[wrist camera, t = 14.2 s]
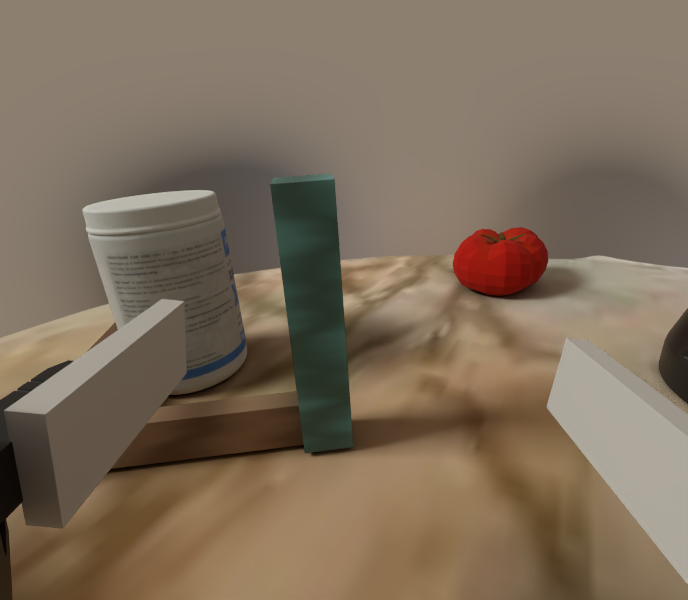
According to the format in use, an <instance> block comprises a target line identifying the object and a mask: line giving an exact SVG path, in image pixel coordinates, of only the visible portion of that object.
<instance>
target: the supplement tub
mask: <svg viewBox="0 0 688 600" xmlns="http://www.w3.org/2000/svg"><path fill="white" fill-rule="evenodd" d="M220 213H221V210H220V208H219V207H218V202H217V198H216V194H215V193H214V192H212V191H207V190H189V191H176V192H163V193H154V194H146V195H139V196H131V197H125V198H119V199H113V200H108V201H103V202H99V203H95V204H92V205H88V206H86V207H85V208H84V209H83V214H84V218H85V222H86V226H87V227H86V231H87V232H88V238H89V241H90V244H91V247H92V251H93V254H94V257H95V260H96V263H97V266H98V270H99V273H100V276H101V279H102V282H103V285H104V288H105V291H106V295H107V297H108V301H109V304H110V307H111V310H112V314H113V317H114V320H115V323H116V326H117V329H118V330H119V329H120V328H121V327H123V326H124V325H126V324H127V323H129V322H130V321H131V320H133V319H134V318H136V317H137V316H138V315H140V314H141V313H143V312H144V311H146V310H147V309H148V308H150V307H151V306H153V305H154V304H155V303H157V302H158V301H160V300H161V299H168V300H178V301H185V335H186V370H187V373H186V375H185V376H184V377H183V378H182V380H181V381H180V382H179V383H178V385H177V386H176V387H175V388H174V390H173V391H172V392H171V393H170V395H180V394H187V393H192V392H196V391H200V390H203V389H206V388H209V387H211V386H213V385H216V384H218V383H220V382H222V381H223V380H225V379H227V378H228V377H230V376H231V375H232V374H234V373H235V372H236V371H237V370H238V369H239V368H240V367H241V366H242V364H243V363H244V361H245V359H246V356H247V344H246V338H245V333H244V327H243V322H242V317H241V312H240V306H239V301H238V296H237V290H236V285H235V280H234V274H233V269H232V264H231V259H230V253H229V248H228V243H227V238H226V233H225V228H224V224H223V218H222V215H221V214H220Z"/></svg>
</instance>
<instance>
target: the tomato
mask: <svg viewBox="0 0 688 600" xmlns="http://www.w3.org/2000/svg"><path fill="white" fill-rule="evenodd" d="M547 263H548V252H547V249H546V248H545V245H544V243H543V242H542V241H541V240H540V239H539V238H538V237H537V235H536V234H534V233H533V232H532V231H530V230H528V229H525V228H522V227H521V228H511V229H509V230H507V231H505V232H503V233H500V234H497V233H496V232H495V231H492V230H490V229H481V230H479V231H476V232H475V233H474V234H473V235H472V236H470V237H468V238H467V239H466V240H464V241H463V242H462V243H461V245H460V247H459V248H458V250H457V251H456V253H455V256H454V260H453V269H454V273H455V275H456V277H457V278H458V280H459V281H460V283H461V284H462V285H464V286H466V287H468V288H470V289H473V290H476V291H479V292H481V293H484V294H487V295H499V296H501V295H507V294H513V293H515V292H517V291H520V290H522V289H524V288H526V287H527V286H531V285H532V284H534V283H536V282H537V281H538V280H539V278H540V277H541V275H542V274H543V273H544V271H545V269H546V266H547Z"/></svg>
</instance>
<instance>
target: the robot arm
mask: <svg viewBox="0 0 688 600" xmlns="http://www.w3.org/2000/svg"><path fill="white" fill-rule="evenodd" d="M659 371H660V374H661V376H662V378H663V379H664V381H665V382H666V384H667V385H668V386H669V387H670V388H671V389H672V390H673V391H674V392H675V393H676V394H677V395H678V396H679V397H680V398H681V399H683V400H684V401H685V402H687V403H688V308H687V310H686V311H685V312H684V313H683V315H682V316H681V317H680V319H679V320H678V321H677V322H676V324H675V325H674V326H673V327H672V329H671V330H670V331H669V333H668V335H667V337H666V339H665V341H664V345H663V348H662V352H661V356H660V360H659ZM186 373H187V370H186V335H185V301H178V300H168V299H161V300H160V301H158V302H157V303H155V304H154V305H153V306H151V307H150V308H148V309H147V310H146V311H144V312H143V313H141V314H140V315H138V316H137V317H136V318H134V319H133V320H131V321H130V322H129V323H127V324H126V325H124V326H123V327H121V328H120V329H119V330H117V331H116V332H114V333H113V334H112V335H110V336H109V337H107V338H106V339H104V340H103V341H102V342H100V343H99V344H97V345H96V346H95V347H93V348H92V349H90V350H89V351H87V352H86V353H85V354H83V355H82V356H80V357H79V358H78V359H76V360H75V361H69V360H68V361H66V362H63V363H61V364H58V365H56V366H53V367H51V368H48V369H46V370H45V371H43V372H42V373H40V374H39V375H37V376H36V377H34V378H33V379H31V382H27V383H25V384H24V385H22V386H21V387H19V388H18V390H17V391H13V392H12V393H10V394H9V395H7V396H6V397H4V398H3V399H1V400H0V600H12V582H11V565H10V547H9V531H8V526H7V521H6V518H7V517H8V516H9V515H10V514H11V513H12V512H13V511H14V510H15V509H16V508H17V507H18V506H19V505H20V504H21V503H22V507H23V512H24V518H25V523H26V525H30V526H41V527H53V528H64V527H65V525H66V524H67V523H68V522H69V520H70V519H71V518H72V517H73V515H74V514H75V513H76V512H77V510H78V509H79V508H80V507H81V505H82V504H83V503H84V502H85V500H86V499H87V498H88V497H89V495H90V494H91V493H92V491H93V490H94V489H95V488H96V486H97V485H98V484H99V483H100V481H101V480H102V479H103V478H104V476H105V475H106V474H107V473H108V471H109V470H110V469H111V468H112V466H113V465H114V464H115V463H116V461H117V460H118V459H119V458H120V456H121V455H122V454H123V453H124V451H125V450H126V449H127V447H128V446H129V445H130V444H131V442H132V441H133V440H134V439H135V437H136V436H137V435H138V434H139V432H140V431H141V430H142V429H143V427H144V426H145V425H146V424H147V422H148V421H149V420H150V419H151V417H152V416H153V415H154V414H155V412H156V411H157V410H158V408H159V407H160V406H161V405H162V403H163V402H164V401H165V400H166V398H167V397H168V396H169V395H170V393H171V392H172V391H173V390H174V388H175V387H176V386H177V385H178V383H179V382H180V381H181V380H182V378H183V377H184V376H185V375H186ZM547 409H548V410H549V411H550V412H551V414H552V415H553V416H554V418H555V419H556V420H557V421H558V423H559V424H560V425H561V426H562V428H563V429H564V430H565V431H566V433H567V434H568V435H569V436H570V438H571V439H572V440H573V441H574V443H575V444H576V445H577V446H578V448H579V449H580V450H581V451H582V453H583V454H584V455H585V456H586V458H587V459H588V460H589V461H590V463H591V464H592V465H593V466H594V468H595V469H596V470H597V471H598V473H599V474H600V475H601V476H602V478H603V479H604V480H605V481H606V483H607V484H608V485H609V486H610V488H611V489H612V490H613V491H614V493H615V494H616V495H617V496H618V498H619V499H620V500H621V501H622V503H623V504H624V505H625V507H626V508H627V509H628V510H629V512H630V513H631V514H632V515H633V517H634V518H635V519H636V520H637V522H638V523H639V524H640V525H641V527H642V528H643V529H644V530H645V532H646V533H647V534H648V535H649V537H650V538H651V539H652V540H653V542H654V543H655V544H656V545H657V547H658V548H659V549H660V550H661V552H662V553H663V554H664V555H665V557H666V558H667V559H668V560H669V562H670V563H671V564H672V565H673V567H674V568H675V569H676V570H677V572H678V573H679V574H680V575H681V577H682V578H683V579H684V580H685V582H686V583H687V584H688V414H687V413H686V412H684V411H683V410H681V409H680V408H679V407H677V406H676V405H675V404H673V403H672V402H671V401H669V400H668V399H667V398H665V397H664V396H663V395H661V394H660V393H659V392H657V391H656V390H655V389H653V388H652V387H651V386H649V385H648V384H647V383H645V382H644V381H643V380H641V379H640V378H639V377H637V376H636V375H635V374H633V373H632V372H631V371H629V370H628V369H626V368H625V367H624V366H622V365H621V364H620V363H618V362H617V361H616V360H614V359H613V358H612V357H610V356H609V355H608V354H606V353H605V352H604V351H602V350H601V349H600V348H598V347H597V346H596V345H594V344H593V343H592V342H590V341H589V340H581V339H571V338H566V342H565V345H564V348H563V352H562V355H561V359H560V362H559V366H558V369H557V372H556V376H555V379H554V383H553V386H552V390H551V393H550V396H549V400H548V403H547Z"/></svg>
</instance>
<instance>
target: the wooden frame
mask: <svg viewBox="0 0 688 600" xmlns="http://www.w3.org/2000/svg"><path fill="white" fill-rule="evenodd" d="M334 181H335V180H334V178H333V177H332V176H331V174H319V175H306V176H292V177H279V178H273V180H272V182H271V184H270V186H271V194H272V202H273V210H274V217H275V224H276V233H277V240H278V248H279V256H280V264H281V272H282V280H283V287H284V295H285V303H286V311H287V318H288V326H289V334H290V342H291V349H292V357H293V365H294V373H295V381H296V388H297V391H295V392H286V393H277V394H269V395H260V396H251V397H243V398H234V399H225V400H216V401H208V402H199V403H190V404H182V405H173V406H164V407H159V408H158V410H157V411H156V412H155V414H154V415H153V416H152V417H151V419H150V420H149V421H148V422H147V424H146V425H145V426H144V427H143V429H142V430H141V431H140V432H139V434H138V435H137V436H136V437H135V439H134V440H133V441H132V442H131V444H130V445H129V446H128V447H127V449H126V450H125V451H124V453H123V454H122V455H121V456H120V458H119V459H118V460H117V461H116V463H115V464H114V465H113V466H112V468H111V469H113V468H121V467H129V466H137V465H145V464H153V463H161V462H169V461H177V460H185V459H193V458H201V457H209V456H217V455H225V454H233V453H242V452H250V451H258V450H266V449H274V448H282V447H290V446H298V445H304V451H305V453H310V452H318V451H326V450H334V449H342V448H350V447H353V435H352V421H351V407H350V393H349V378H348V364H347V350H346V336H345V322H344V307H343V293H342V279H341V265H340V251H339V237H338V222H337V208H336V195H335V182H334ZM117 330H118V329H117V326H116V323H114V324H113V325H112V326H111V327H110V328H109V329H108V330H107V331H106V333H105V334H104V335H103V336H102V337H101V338H100V339H99V340H98V341H97V342H96V343H95V344H94V345H93V346H92V347H91V348H90V349H92V348H93V347H95V346H96V345H97V344H99V343H100V342H102V341H103V340H104V339H106V338H107V337H109V336H110V335H112V334H113V333H114V332H116V331H117ZM90 349H89V350H90ZM89 350H88V351H89Z"/></svg>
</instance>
